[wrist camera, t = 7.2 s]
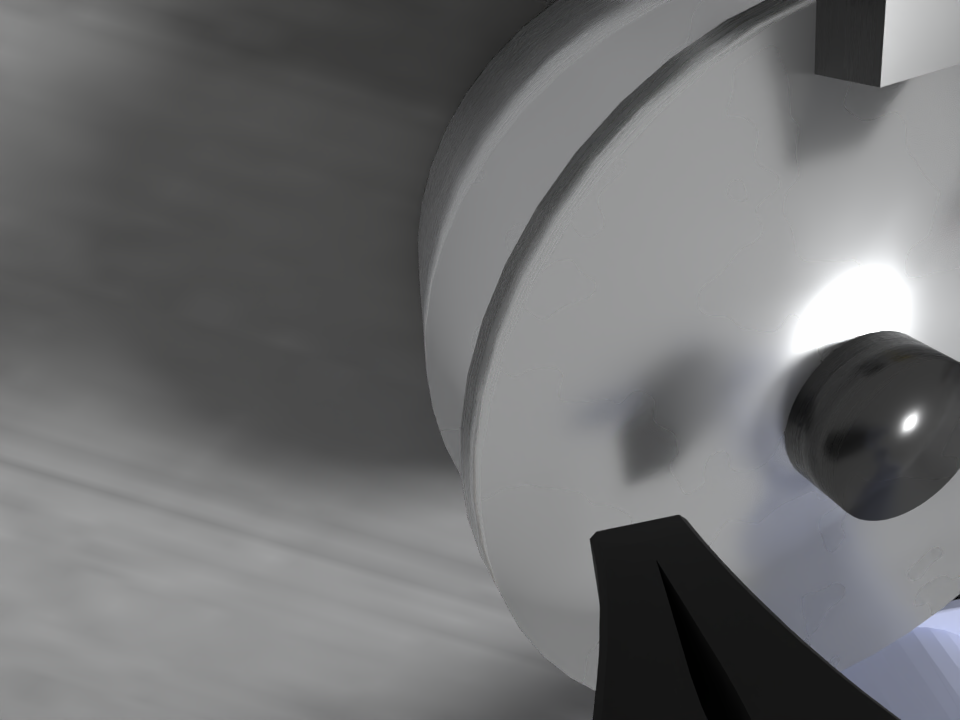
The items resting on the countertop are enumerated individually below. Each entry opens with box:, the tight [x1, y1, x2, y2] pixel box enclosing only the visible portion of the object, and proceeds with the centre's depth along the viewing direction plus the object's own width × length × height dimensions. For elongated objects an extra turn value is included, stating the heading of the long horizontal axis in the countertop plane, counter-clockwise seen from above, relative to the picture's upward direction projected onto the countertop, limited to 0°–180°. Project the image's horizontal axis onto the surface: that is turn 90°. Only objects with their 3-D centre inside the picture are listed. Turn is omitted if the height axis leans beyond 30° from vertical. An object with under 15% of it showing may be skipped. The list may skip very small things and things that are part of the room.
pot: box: [418, 0, 764, 476], centre depth 17 cm, size 22×14×5 cm, turn 10°
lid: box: [460, 0, 960, 691], centre depth 13 cm, size 21×14×2 cm, turn 10°
